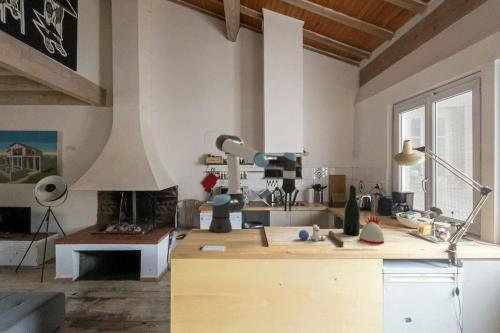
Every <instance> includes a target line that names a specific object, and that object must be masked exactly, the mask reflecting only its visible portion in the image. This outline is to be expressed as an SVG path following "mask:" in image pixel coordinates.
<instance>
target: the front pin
mask: <svg viewBox="0 0 500 333" xmlns="http://www.w3.org/2000/svg"><path fill="white" fill-rule="evenodd" d="M310 240H311V241H314V240H315V236H313V235H310ZM319 241H326V236H324V235H319Z"/></svg>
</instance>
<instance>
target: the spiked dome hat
mask: <svg viewBox="0 0 500 333" xmlns="http://www.w3.org/2000/svg"><path fill="white" fill-rule="evenodd" d="M380 221H381V219H378V217H376V218H375V217H374V216H373V217H372V216H370V218H367V220H366V219H365V224H364V225H363V227H362V228H361V229H360V234H359V241H361V242H362V243H366V244H371V245H383V244H385V236H384V233H383V229H382V228H381V227H380V226H379V222H380Z"/></svg>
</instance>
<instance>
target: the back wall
mask: <svg viewBox="0 0 500 333" xmlns="http://www.w3.org/2000/svg"><path fill="white" fill-rule="evenodd" d="M328 237H329V238H330V239H332V240H333V242H335V243H336V244H337V245H338V247H340V248H341V247H342V248H343V247H344V240H343V239H341V238H340V237H339V236H338V235H337V234H336V233H334V232H333V231H332V230H328Z"/></svg>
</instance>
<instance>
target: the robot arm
mask: <svg viewBox="0 0 500 333" xmlns="http://www.w3.org/2000/svg"><path fill="white" fill-rule="evenodd" d="M215 148H216V149H217V150H219V151H220V152H223V153H224V156H225V157H226V161H227V163H226V164H227V166H226V167H227V184H228V185H227V186H228V187H227V188H228V189H227V192H226V193H222V194H217V195H214V196H213V198H212V202H211V203H212V205H211V207H212V209H211V212H212V213H211V220H210V221H211V222H210V224H209V227H208V230H209V232H211V233H216V234H218V233H219V234H222V233H223V234H226V233H230V232H232V231H233V226H232V222H231V219H230V218H231V217H230V215H231V214H232V213H239V212H242V211H243V210H244V209H245V208H246V206H247V199H246V197H245V196H244V193H243V191H242V190H241V168H240V167H241V166H240V158H241V159H242V160H245V161H247V162H250V163H252V164H254V165H255V166H256V167H259V168H277V169H278V168H281V169H282V185H281V187H280V188H278V189H277V191H278V192H279V197H280V202H281V205H282V206H284V208H283V210H284V212H285V217H286V218H289V216H290V212H291V211H292V206H294V205H295V203H296V200H297V197H298V193H299V192H300V190H299V189H297V187H296V168H297V153H296V152H284V153H283V155H278V154H277V155H275V154H265V153H263V152H260V151H258V150H255V149H253V148H249V147H247V146H245V143H244V140H243V139H242V138H241V137H240V136H236V135H230V134H220V135H218V136H217V137H216V139H215ZM282 192H284V198H283V193H282ZM293 192H294V194H293ZM292 196H293V198H292Z"/></svg>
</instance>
